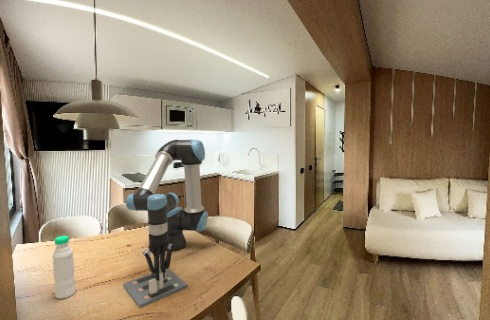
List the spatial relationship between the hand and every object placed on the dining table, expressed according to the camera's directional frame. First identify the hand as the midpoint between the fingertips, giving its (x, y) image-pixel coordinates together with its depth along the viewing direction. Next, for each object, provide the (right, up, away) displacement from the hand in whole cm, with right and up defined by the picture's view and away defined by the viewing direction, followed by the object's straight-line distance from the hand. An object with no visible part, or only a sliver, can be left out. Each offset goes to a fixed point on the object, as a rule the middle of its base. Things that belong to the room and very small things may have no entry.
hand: (160, 286), depth 109 cm
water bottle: (-40, -4, +1) cm, 41 cm away
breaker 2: (-2, -1, +8) cm, 8 cm away
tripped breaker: (-2, -2, -2) cm, 4 cm away
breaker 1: (-6, -1, +13) cm, 15 cm away
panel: (-4, -3, +6) cm, 8 cm away
